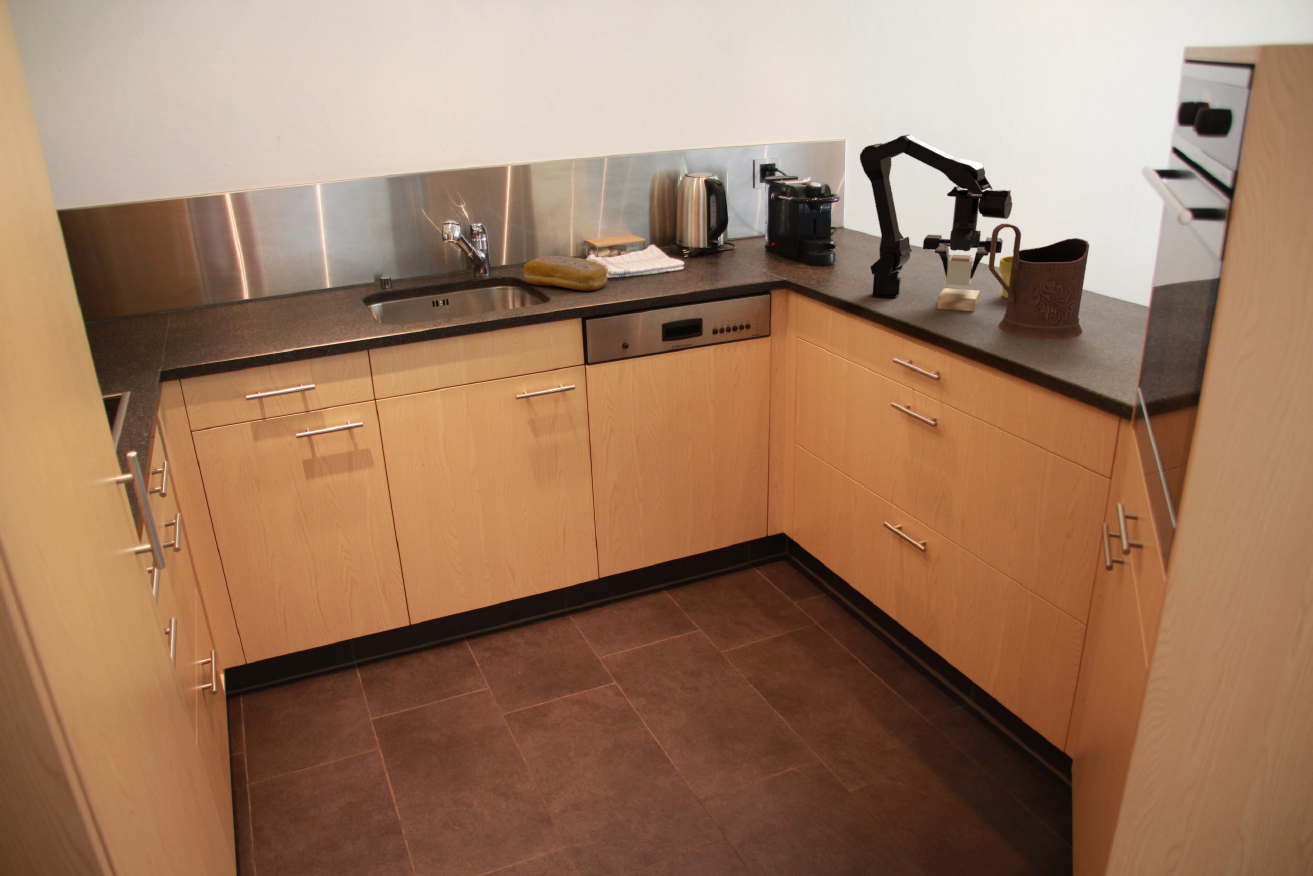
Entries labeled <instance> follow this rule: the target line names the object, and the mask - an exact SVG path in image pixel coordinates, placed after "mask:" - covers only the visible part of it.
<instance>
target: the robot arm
mask: <svg viewBox="0 0 1313 876" xmlns="http://www.w3.org/2000/svg"><path fill="white" fill-rule="evenodd" d="M901 154H905V155H907V156H909V157H911V158H913V159H915V160H917V161H918V162H919V161H920V162H921V163H923V164H925V165H927V166H930V167H931V168H933V169H935V170H938V171H939V172H941V173H942V174H944V176H945V177H946V178H947V179H948V180H949V181H950V182H951V183H953V184H954V185H956V186H953V188H952V189H951V190H950V191H949V192H947V194H946V195H947V197H954V198H955V200H954V209H953V218H952V228H951V231H950V236H949V238H943V235H942V234H927V235H926V236H925V238H924V239H923V242H922V249H923V250H930V251H931V250H932V251H934V253H935V254H938V255H939V257H940V259H941V262H942V265H943V271H944V274H945V278H947V270H948V261H949V259H950V250H951V251H954V252H955V251H964V252H969V251H971V249H976V252H975V256H974V258H973V267H972V271H971V278H970V279H971V280H972V279H973V277H974V275H975V273H976V270H977V269H978V267H979V264H980V262H981V261H982V260H983V257H989V255H990V249H991V239H992V237H986V239H985V240H981V230H977V228H978V227H977V225H978V215H979V214H980V215H981V216H982V217H983V218H988V219H989V218H990V219H1003V220H1007V219H1009V217H1010V216H1011V212H1012V209H1013V202H1012V200H1013V199H1012V195H1011V192H1012V191H1011V189H993V187H992V185H991V184H990V181H989V180H988V179H987V177H986V170H985V168H984V167H985V166H984V165H982V164H981V163H980V162H976V161H974V160H969V159H965V158H961V157H960V158H959V157H955V156H952V155H950V154H948V153H947V152H944V151H942V150H940V149H938V148H935V147H934V146H931V145H929V144H928V143H926V142H924V141H921V140H919V139H918V138H915V137H914V135H912V134H904V135H900V136H898V137H897V138H895V139H893V140H890V141H887V142H885V143H882V142H881V143H875V144H870V145H867V146H865V147H864V148H863V149H862V151H861V152H860V153H859V161H860V163H861V167H862V169H863V172H864V174H865V176H866V177H867V178H868V180H869V181H870V183H871V188H872V194H873V199H874V204H875V208H876V213H877V220H878V225H879V229H880V234H881V237H880V244H879V247H878V248H879V259H878V260H877V261H875V262H873V264H872V265H871V266H870V271H871V274H872V275H873V284H872V292H871V295H870V296H871V297H874V298H885V299H887V298H888V299H889V298H890V299H896V298H897V296H898V295H899V294H900V293H901V284H902V276H901V277H900V271H902V269H903V267H904V265H905V264H906V265H907V263H908V261H909V260H910V258H911V253H912V252H913V250H912V248H911V245H910V237H909V236H906V237H904V236H903V235H902V233H901V231H900V227H899V222H898V217H897V212H896V207H895V200H894V197H893V195H894V194H893V192H892V185H891V181H890V174H891V170H892V169H891V168H892V158H895V157H896V156H899V155H901ZM1003 242H1004V241H1003V239H1002V237H998V238H997V246H996V254H1001V253H1002V250H1003Z"/></svg>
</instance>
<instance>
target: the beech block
mask: <svg viewBox="0 0 1313 876" xmlns="http://www.w3.org/2000/svg"><path fill="white" fill-rule="evenodd" d="M980 293H981V291H980V290H977V289H975V290H974V289H961V288H960V289H959V288H946V287H944V288H943V289H942V291H941V292H940V294H939V295H938V299H937V309H942V310H952V309H954V311H955V310H956V311H967V312H975V311H976V308H977V307H978V305H979V303H980Z"/></svg>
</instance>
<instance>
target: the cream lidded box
mask: <svg viewBox="0 0 1313 876" xmlns="http://www.w3.org/2000/svg"><path fill="white" fill-rule="evenodd" d="M974 259H975V256H974V257H972V254H971V255H969V254H967V255H966V254H952V255H950V256H949V261H948V270H947V277H946V280H945V281H946V283H945V285H954V286H968V287H969V286H970V284H971V281H972V279H970V278H971V271H972V267H973V263H974Z"/></svg>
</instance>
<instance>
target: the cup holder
mask: <svg viewBox="0 0 1313 876" xmlns="http://www.w3.org/2000/svg"><path fill="white" fill-rule="evenodd" d="M1004 228H1010V229H1012V230H1013V231H1014V235H1015V237H1014V244H1013V251H1012V253H1013V255H1012V256H1013V259H1012V267H1011V275H1010V283H1009V287H1008V286H1007V284H1006V283H1005V282H1004V281H1003V279H1002V277H1001V276H1000V274H999V272H998V271H997V270H996V269H995V261H996V254H997V253H996V246H997V238H999V233H1000V231H1002V230H1003V229H1004ZM1019 228H1020V227H1018V226H1016V225H1013V224H1011V223H1000V224H999V225H996V226H995V228H994V229H992V233H991V238H992V239H991V249H990V253H989V257H988V258H989V259H988V270H989V271H990V272H991V274H992V276H994V278H995V279H996V280H997V281H998V283H999V284H1000V285H1001V286H1003V288H1004V289H1005V290H1006V291H1007V293H1008V298H1006V299H1007V300H1006V308H1005V313H1004V314H1003V318H1002V319H1001V321H1000V322H999V323H998V325H997V326H998V328H999V329H1000V330H1001V331H1003V332H1004V333H1007V334H1009V335H1014V336H1015V337H1016V336H1017V337H1020V338H1026V339H1034V340H1035V339H1036V340H1047V341H1048V340H1049V341H1050V340H1054V341H1055V340H1057V341H1058V340H1067V339H1073V338H1077V337H1079V336H1081V335H1082V334H1083V329H1082V327H1081V324H1080V318H1079V316H1080V307H1081V301H1082V296H1083V295H1082V294H1083V291H1084V290H1083V288H1084V283H1085V282H1084V281H1085V274H1086V270H1087V262H1088V258H1089V250H1090V244H1089V241H1088V240H1085V239H1083V238H1076V237H1074V238H1066V239H1063V240H1061V241H1058V242H1054V243H1052V244H1049V245H1045V246H1040V247H1035V248H1034V247H1033V248H1026V249H1025V248H1024V249H1020V248H1021V239H1022V233H1021V232H1022V231H1021V230H1020V229H1019Z"/></svg>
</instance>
